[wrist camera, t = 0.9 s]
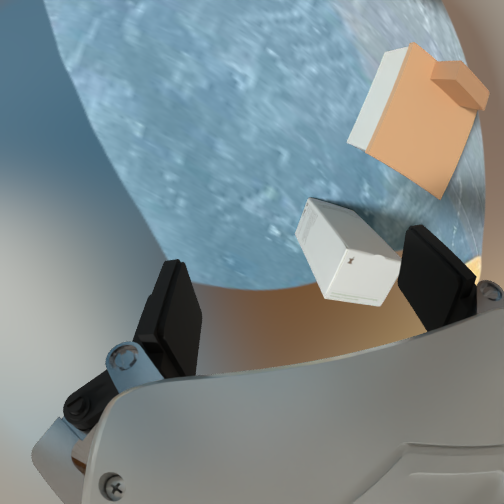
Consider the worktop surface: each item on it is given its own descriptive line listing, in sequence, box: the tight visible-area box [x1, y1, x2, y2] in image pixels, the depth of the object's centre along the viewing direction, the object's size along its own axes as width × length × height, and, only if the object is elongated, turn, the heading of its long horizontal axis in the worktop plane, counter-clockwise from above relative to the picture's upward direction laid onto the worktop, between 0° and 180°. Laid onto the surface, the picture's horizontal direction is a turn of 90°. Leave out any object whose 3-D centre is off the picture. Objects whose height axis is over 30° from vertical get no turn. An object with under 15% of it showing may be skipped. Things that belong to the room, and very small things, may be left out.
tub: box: [347, 47, 408, 152], centre depth 29 cm, size 16×13×7 cm
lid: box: [365, 42, 489, 200], centre depth 24 cm, size 17×14×7 cm
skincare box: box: [295, 197, 402, 306], centre depth 33 cm, size 8×7×16 cm
